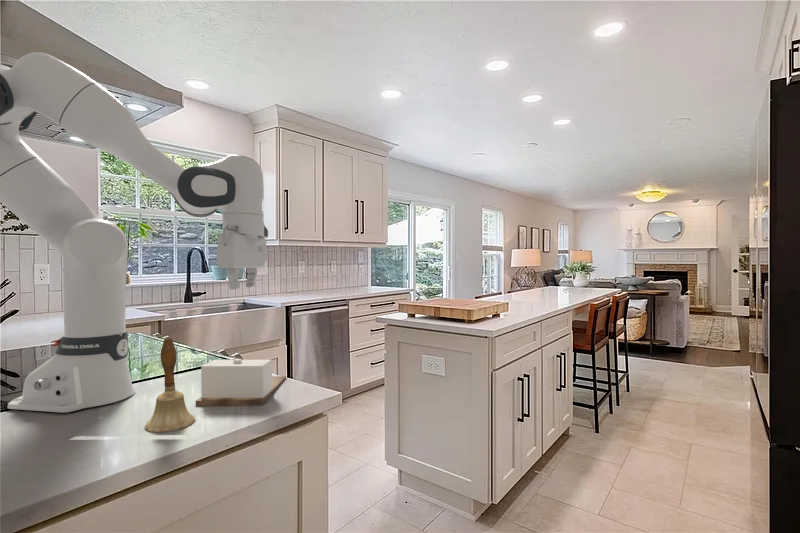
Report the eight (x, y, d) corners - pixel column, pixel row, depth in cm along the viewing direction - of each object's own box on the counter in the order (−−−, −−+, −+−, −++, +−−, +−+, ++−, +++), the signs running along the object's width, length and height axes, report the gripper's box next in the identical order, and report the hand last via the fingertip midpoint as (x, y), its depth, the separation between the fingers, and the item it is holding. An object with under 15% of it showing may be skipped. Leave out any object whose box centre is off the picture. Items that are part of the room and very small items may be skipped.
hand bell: (174, 434, 75) (173, 343, 75) (133, 430, 77) (132, 341, 77) (204, 417, 83) (203, 335, 83) (167, 414, 85) (166, 333, 85)
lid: (201, 397, 91) (201, 362, 91) (214, 389, 97) (213, 356, 97) (262, 397, 91) (262, 362, 91) (271, 389, 97) (271, 356, 97)
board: (195, 405, 90) (195, 399, 90) (230, 380, 109) (230, 375, 109) (262, 405, 90) (262, 398, 90) (286, 380, 109) (286, 374, 109)
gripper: (239, 223, 89) (238, 291, 89) (270, 231, 109) (270, 286, 109) (208, 223, 89) (208, 290, 89) (245, 231, 109) (245, 286, 109)
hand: (242, 288), depth 99 cm, fingers open, 8 cm apart
